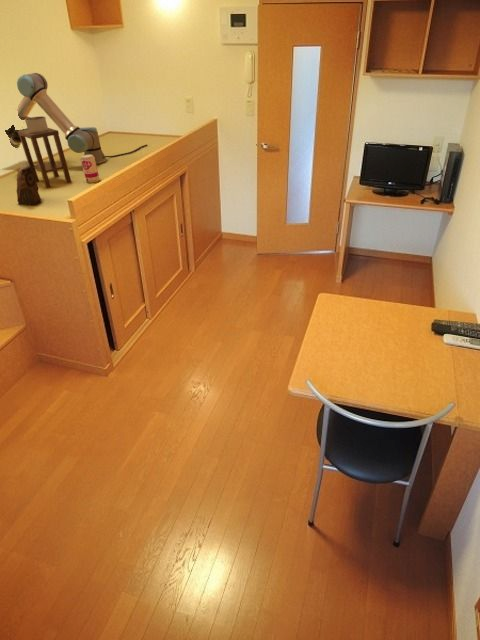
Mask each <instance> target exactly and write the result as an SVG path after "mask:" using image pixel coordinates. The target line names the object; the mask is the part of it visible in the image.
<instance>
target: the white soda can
mask: <svg viewBox="0 0 480 640" xmlns="http://www.w3.org/2000/svg"><path fill="white" fill-rule="evenodd" d="M80 162H81V165H82V170H83V174H84V177H85V182H87V183H89V184H92V183H97V182H99V181H100V180H101V179H100V175H99V170H98V166H97V164H96V161H95V157H94V156H93V155H91V154H89V155H84V154H83V155H81V156H80Z"/></svg>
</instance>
